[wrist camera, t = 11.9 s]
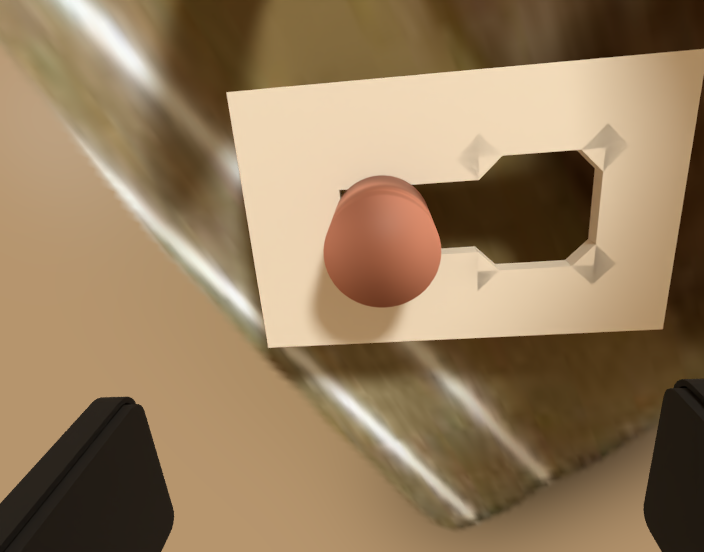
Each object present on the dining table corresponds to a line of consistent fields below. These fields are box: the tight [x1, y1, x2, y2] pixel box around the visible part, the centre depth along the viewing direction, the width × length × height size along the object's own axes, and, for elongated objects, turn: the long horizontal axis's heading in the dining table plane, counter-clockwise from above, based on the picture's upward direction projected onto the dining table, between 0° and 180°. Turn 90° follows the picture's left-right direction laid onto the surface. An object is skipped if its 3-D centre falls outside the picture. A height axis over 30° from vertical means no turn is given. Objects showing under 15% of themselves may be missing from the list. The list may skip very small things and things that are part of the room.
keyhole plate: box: [226, 49, 704, 348], centre depth 28 cm, size 22×14×8 cm, turn 95°
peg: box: [323, 175, 441, 308], centre depth 26 cm, size 5×5×11 cm
